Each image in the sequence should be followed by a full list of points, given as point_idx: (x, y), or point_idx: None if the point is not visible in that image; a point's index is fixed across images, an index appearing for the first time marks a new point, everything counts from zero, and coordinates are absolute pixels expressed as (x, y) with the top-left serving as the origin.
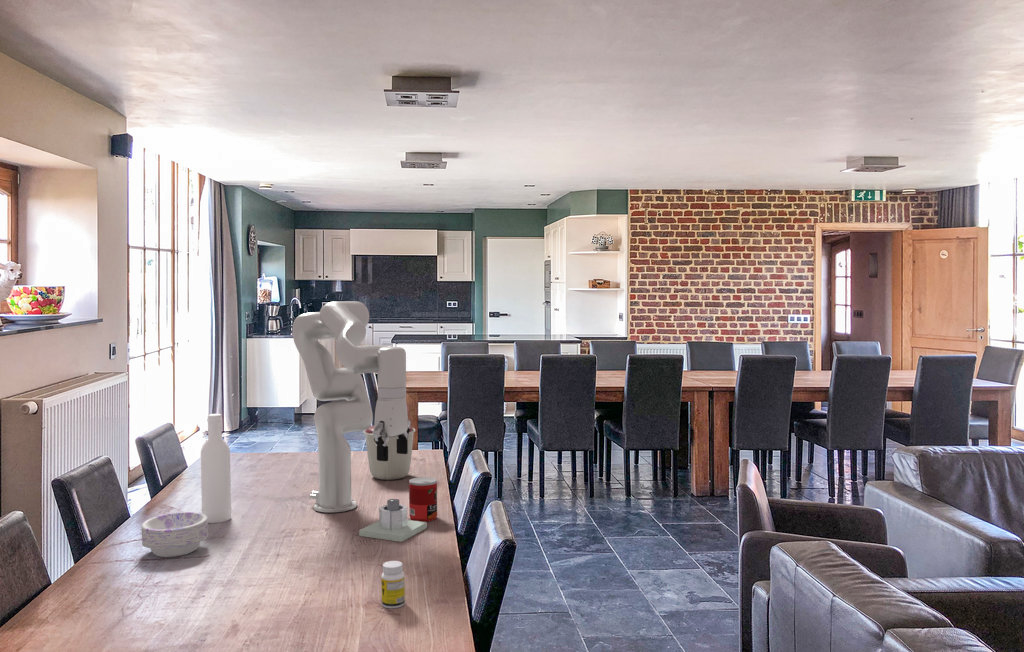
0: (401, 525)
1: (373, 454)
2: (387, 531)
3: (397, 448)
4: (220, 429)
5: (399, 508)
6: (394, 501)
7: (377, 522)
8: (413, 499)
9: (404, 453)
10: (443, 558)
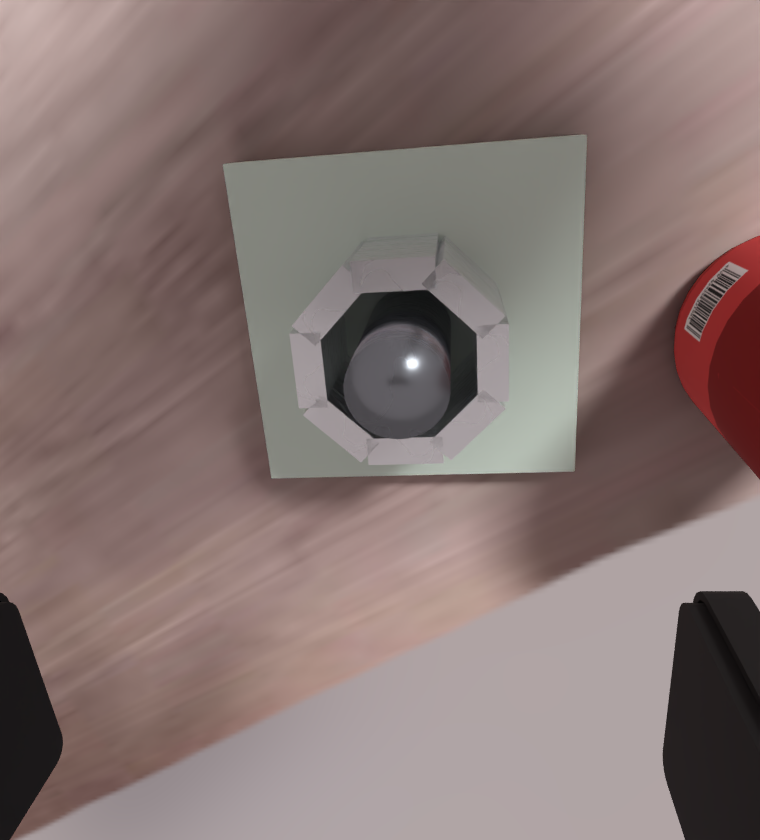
0: None
1: None
2: None
3: (715, 688)
4: None
5: (476, 370)
6: (371, 419)
7: (436, 164)
8: (730, 357)
9: (667, 745)
10: (195, 718)
